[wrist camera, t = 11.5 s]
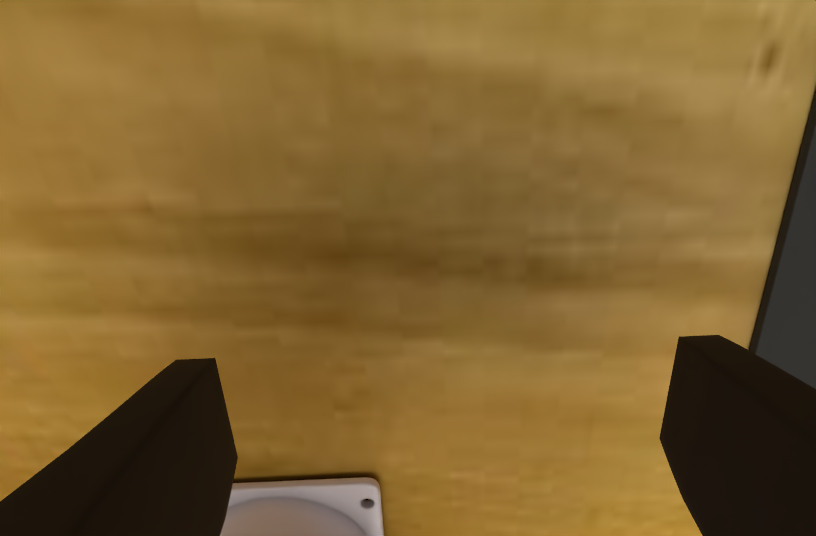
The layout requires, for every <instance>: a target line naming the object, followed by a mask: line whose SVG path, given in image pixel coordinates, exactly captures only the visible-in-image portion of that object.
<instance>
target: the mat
mask: <svg viewBox="0 0 816 536" xmlns="http://www.w3.org/2000/svg"><path fill="white" fill-rule="evenodd" d="M749 351H751V352H752V353H754V354H756V355H758V356H759V357H761V358H763V359H765V360H767V361H768V362H770V363H772V364H773V365H775V366H777V367H779V368H780V369H782V370H784V371H786V372H787V373H789V374H791V375H792V376H794V377H796V378H798V379H799V380H801V381H803V382H805V383H806V384H808V385H810V386H811V387H813V388H815V389H816V93H815V96H814V100H813V104H812V108H811V112H810V116H809V120H808V124H807V128H806V132H805V135H804V139H803V143H802V147H801V151H800V155H799V159H798V163H797V167H796V170H795V174H794V178H793V182H792V186H791V190H790V194H789V198H788V202H787V206H786V209H785V213H784V217H783V221H782V225H781V229H780V233H779V237H778V241H777V244H776V248H775V252H774V256H773V260H772V264H771V268H770V272H769V276H768V280H767V283H766V287H765V291H764V295H763V299H762V303H761V307H760V311H759V315H758V318H757V322H756V326H755V330H754V334H753V338H752V342H751V346H750V350H749Z"/></svg>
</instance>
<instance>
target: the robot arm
mask: <svg viewBox="0 0 816 536" xmlns="http://www.w3.org/2000/svg"><path fill="white" fill-rule="evenodd" d="M660 441H661V443H662V446H663V449H664V452H665V454H666V457H667V460H668V462H669V465H670V468H671V471H672V473H673V475H674V478H675V480H676V483H677V485H678V488H679V490H680V493H681V495H682V498H683V500H684V502H685V503H686V505H687V507H688V509H689V511H690V513H691V515H692V517H693V519H694V520H695V522H696V524H697V526H698V528H699V530H700V532H701V533H702V535H703V536H816V389H815V388H813V387H811V386H810V385H808V384H806V383H805V382H803V381H801V380H799V379H798V378H796V377H794V376H792V375H791V374H789V373H787V372H786V371H784V370H782V369H780V368H779V367H777V366H775V365H773V364H772V363H770V362H768V361H767V360H765V359H763V358H761V357H759V356H758V355H756V354H754V353H752V352H751V351H749V350H747V349H745V348H743V347H741V346H740V345H738V344H736V343H734V342H732V341H730V340H728V339H726V338H724V337H722V336H719V335H707V336H686V337H679V339H678V344H677V350H676V355H675V360H674V365H673V370H672V376H671V381H670V386H669V391H668V397H667V402H666V407H665V412H664V418H663V423H662V428H661V433H660ZM237 458H238V457H237V452H236V448H235V444H234V439H233V435H232V430H231V426H230V422H229V417H228V413H227V408H226V404H225V399H224V395H223V391H222V386H221V382H220V377H219V373H218V368H217V364H216V360H215V358H207V359H185V360H175V361H174V362H173V363H171V364H170V365H169V366H167V367H166V368H165V369H164V370H162V371H161V372H160V373H159V374H157V375H156V376H155V377H154V378H153V379H151V380H150V381H149V382H148V383H147V384H145V385H144V386H143V387H142V388H141V389H140V390H138V391H137V392H136V393H135V394H134V395H132V396H131V397H130V398H129V399H128V400H127V401H125V402H124V403H123V404H122V405H121V406H120V407H118V408H117V409H116V410H115V411H114V412H112V413H111V414H110V415H109V416H108V417H106V418H105V419H104V420H103V421H102V422H100V423H99V424H98V425H97V426H96V427H94V428H93V429H92V430H91V431H90V432H88V433H87V434H86V435H85V436H84V437H82V438H81V439H80V440H79V441H78V442H76V443H75V444H74V445H73V446H72V447H70V448H69V449H68V450H67V451H65V452H64V453H63V454H61V455H60V456H59V457H58V458H56V459H55V460H54V461H52V462H51V463H50V464H48V465H47V466H46V467H45V468H43V469H42V470H41V471H39V472H38V473H37V474H35V475H34V476H33V477H32V478H30V479H29V480H28V481H26V482H25V483H24V484H23V485H21V486H20V487H19V488H17V489H16V490H15V491H13V492H12V493H11V494H10V495H8V496H7V497H6V498H4V499H3V500H2V501H0V536H384V527H383V516H382V504H381V493H380V485H379V483H378V482H377V481H376V480H375V479H373V478H368V477H361V478H339V479H317V480H295V481H273V482H251V483H233V479H234V474H235V469H236V463H237ZM364 499H371V500H364Z"/></svg>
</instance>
